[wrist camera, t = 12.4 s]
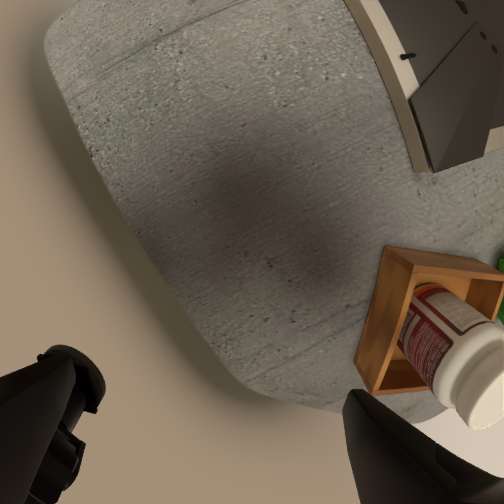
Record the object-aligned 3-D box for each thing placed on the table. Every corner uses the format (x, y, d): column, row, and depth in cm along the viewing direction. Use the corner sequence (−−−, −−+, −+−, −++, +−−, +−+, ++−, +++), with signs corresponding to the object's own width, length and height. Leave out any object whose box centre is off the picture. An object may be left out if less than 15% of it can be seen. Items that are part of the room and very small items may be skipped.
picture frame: (413, 171, 19) (548, 128, 18) (434, 173, 17) (566, 128, 15) (333, -17, 15) (495, -7, 14) (343, -35, 13) (510, -15, 11)
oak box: (443, 358, 24) (466, 384, 20) (353, 361, 24) (370, 396, 19) (476, 259, 21) (509, 275, 17) (384, 245, 21) (414, 264, 17)
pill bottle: (405, 360, 23) (468, 450, 12) (376, 315, 22) (451, 413, 11) (457, 316, 22) (536, 386, 11) (435, 265, 21) (535, 331, 10)
